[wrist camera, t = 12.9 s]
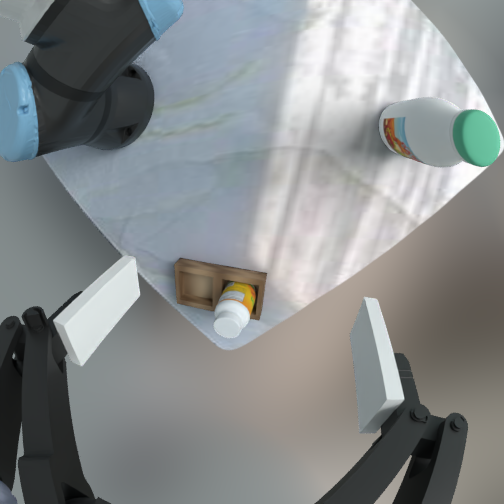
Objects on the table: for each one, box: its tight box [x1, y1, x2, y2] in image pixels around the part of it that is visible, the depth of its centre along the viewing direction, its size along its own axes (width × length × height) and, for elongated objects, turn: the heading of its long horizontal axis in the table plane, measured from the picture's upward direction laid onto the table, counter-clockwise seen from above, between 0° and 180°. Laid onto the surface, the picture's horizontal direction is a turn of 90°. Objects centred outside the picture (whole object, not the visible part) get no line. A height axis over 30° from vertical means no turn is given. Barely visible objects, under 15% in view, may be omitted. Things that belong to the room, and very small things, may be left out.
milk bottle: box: [379, 97, 500, 167], centre depth 22 cm, size 8×8×20 cm
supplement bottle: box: [214, 281, 256, 338], centre depth 42 cm, size 5×5×10 cm
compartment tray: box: [174, 258, 267, 320], centre depth 46 cm, size 15×8×2 cm, turn 85°
